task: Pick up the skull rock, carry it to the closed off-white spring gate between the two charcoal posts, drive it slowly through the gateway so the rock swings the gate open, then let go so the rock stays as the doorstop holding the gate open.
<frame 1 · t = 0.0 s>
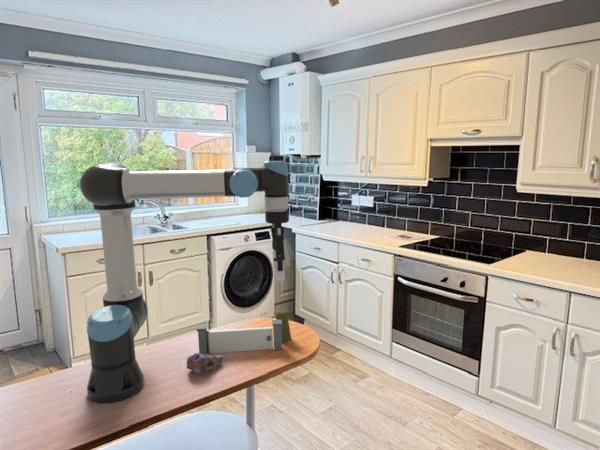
hand: (278, 274, 137), 28 cm above the table, fingers open, 13 cm apart
gate: (239, 340, 144), point 4 cm above the table, hinge at 0.0°
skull: (206, 370, 133), on the table
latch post: (277, 348, 146), on the table
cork: (283, 339, 154), on the table
hinge post: (203, 353, 143), on the table
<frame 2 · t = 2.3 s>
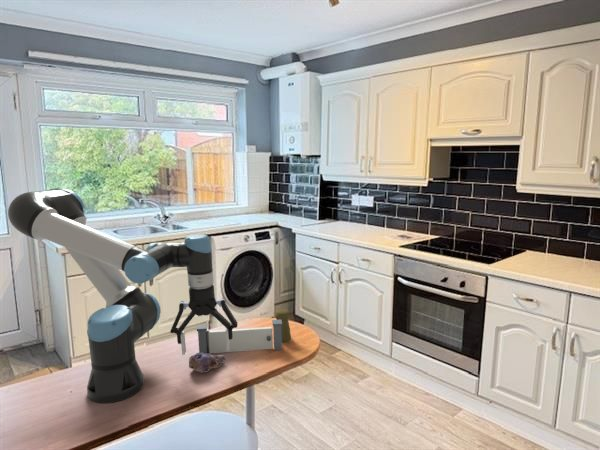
hand: (206, 350, 132), 6 cm above the table, fingers open, 13 cm apart
nothing on the table moved.
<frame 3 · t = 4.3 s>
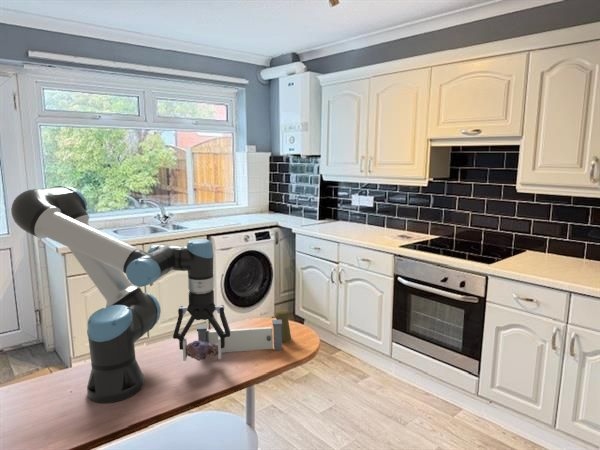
hand: (202, 357, 132), 4 cm above the table, fingers closed on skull, 10 cm apart
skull: (205, 358, 133), point 3 cm above the table, touching gripper
everything else where it was.
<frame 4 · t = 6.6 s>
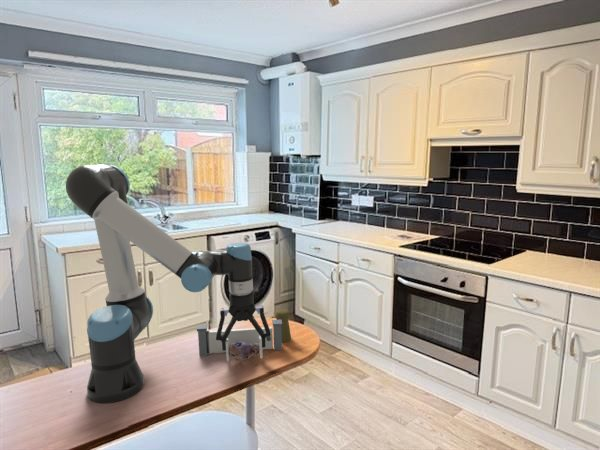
hand: (244, 357, 136), 2 cm above the table, fingers closed on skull, 10 cm apart
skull: (247, 357, 137), point 1 cm above the table, touching gripper
everything else where it was.
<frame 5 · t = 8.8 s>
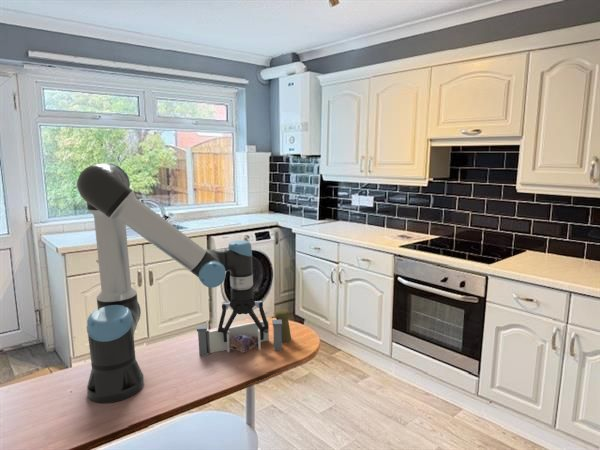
hand: (244, 349, 145), 1 cm above the table, fingers closed on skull, 10 cm apart
gate: (238, 336, 147), point 4 cm above the table, hinge at 18.7°, touching gripper, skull
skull: (246, 350, 145), on the table, touching gate, gripper
everything else where it was.
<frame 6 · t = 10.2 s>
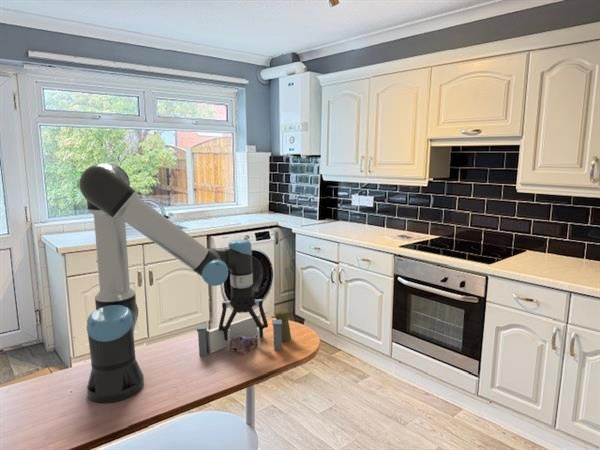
hand: (244, 347, 146), 1 cm above the table, fingers closed on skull, 9 cm apart
gate: (235, 333, 150), point 4 cm above the table, hinge at 35.8°, touching gripper
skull: (246, 350, 146), on the table, touching gripper
everything else where it was.
when the fingers open (1 cm above the table, at t = 10.5 s): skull stays where it is, on the table.
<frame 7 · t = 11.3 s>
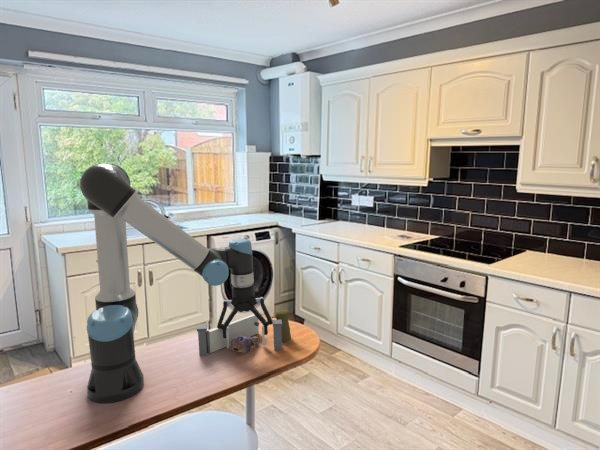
hand: (246, 345, 146), 1 cm above the table, fingers open, 11 cm apart
gate: (234, 332, 150), point 4 cm above the table, hinge at 38.7°, touching gripper
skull: (246, 350, 146), on the table
everything else where it was.
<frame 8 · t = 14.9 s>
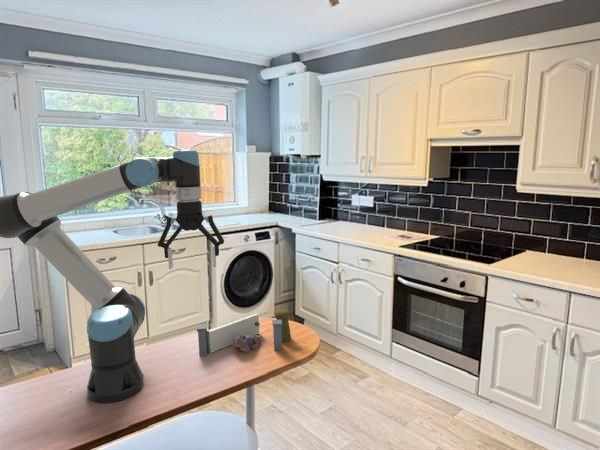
hand: (193, 267, 134), 32 cm above the table, fingers open, 13 cm apart
gate: (234, 332, 150), point 4 cm above the table, hinge at 38.0°
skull: (248, 349, 147), on the table
everything else where it was.
at the end: gate at +38° (first picture: +0°); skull inside the target area (1.6 cm from its centre), on the table; the gripper is holding nothing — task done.
